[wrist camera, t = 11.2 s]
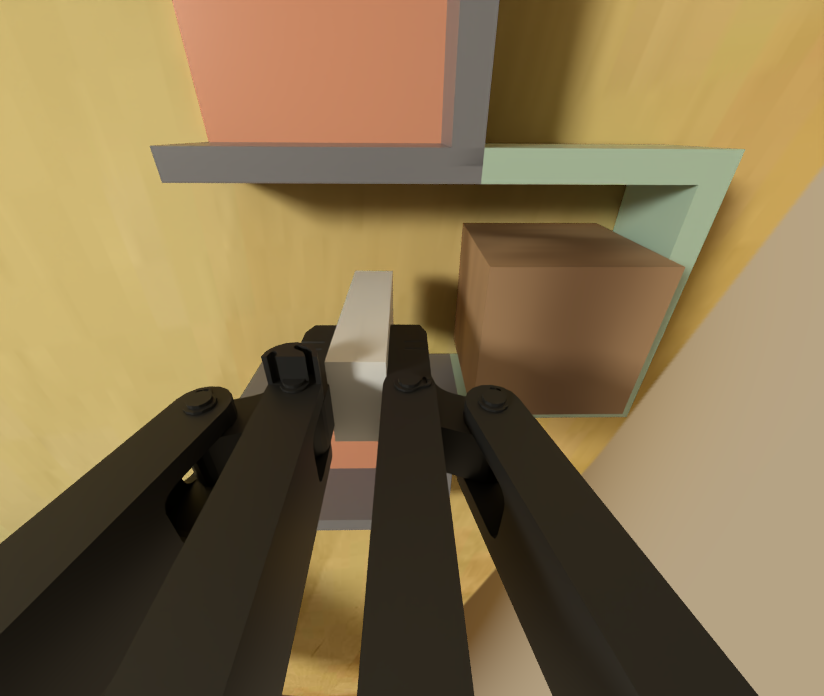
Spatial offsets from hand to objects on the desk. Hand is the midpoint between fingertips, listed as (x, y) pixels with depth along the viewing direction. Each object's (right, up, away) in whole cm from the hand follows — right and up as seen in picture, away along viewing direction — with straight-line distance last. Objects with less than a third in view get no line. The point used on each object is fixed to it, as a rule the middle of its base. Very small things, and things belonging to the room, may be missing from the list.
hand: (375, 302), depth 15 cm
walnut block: (+7, +1, +3) cm, 7 cm away
